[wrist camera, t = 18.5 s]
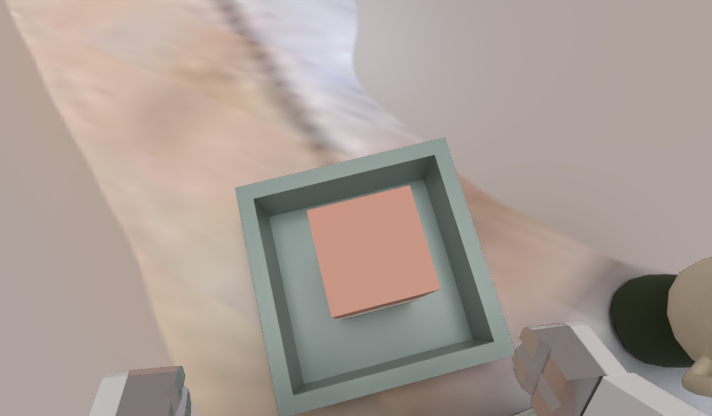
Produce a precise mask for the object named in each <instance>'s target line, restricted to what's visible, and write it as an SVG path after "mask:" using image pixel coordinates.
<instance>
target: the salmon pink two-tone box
mask: <svg viewBox="0 0 712 416" xmlns="http://www.w3.org/2000/svg"><path fill="white" fill-rule="evenodd" d="M307 215H308V219H309V223H310V228H311V232H312V236H313V241H314V245H315V249H316V253H317V258H318V262H319V266H320V271H321V275H322V279H323V284H324V288H325V292H326V297H327V301H328V305H329V310H330V314H331V318H336V319H338V320H343V319H347V318H351V317H355V316H358V315H362V314H366V313H370V312H374V311H378V310H381V309H385V308H389V307H393V306H397V305H401V304H405V303H408V302H412V301H416V300H419V299H421V298H422V297H423V296H426V295H428V294H430V293H433V292H435V291H437V290H440V289H441V288H440V285H439V282H438V278H437V275H436V272H435V268H434V265H433V262H432V258H431V255H430V251H429V248H428V245H427V241H426V238H425V235H424V231H423V228H422V225H421V221H420V218H419V214H418V211H417V208H416V204H415V201H414V198H413V194H412V191H411V188H410V185H408V186H404V187H400V188H396V189H392V190H388V191H384V192H380V193H376V194H371V195H367V196H363V197H359V198H355V199H351V200H347V201H343V202H339V203H335V204H331V205H327V206H323V207H319V208H314V209H310V210H307Z"/></svg>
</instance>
